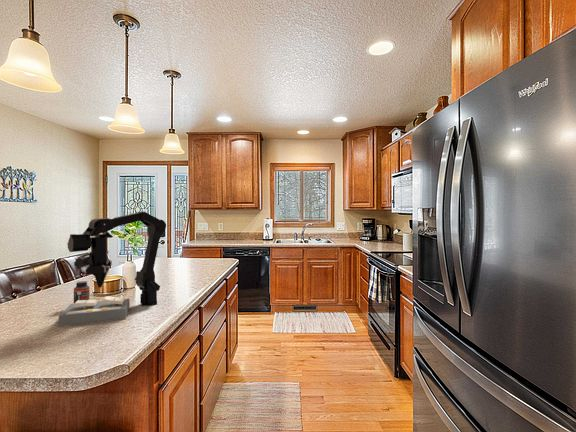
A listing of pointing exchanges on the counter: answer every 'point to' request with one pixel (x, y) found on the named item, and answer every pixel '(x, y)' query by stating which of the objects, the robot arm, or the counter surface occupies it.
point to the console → (94, 313)
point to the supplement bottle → (81, 291)
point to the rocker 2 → (113, 300)
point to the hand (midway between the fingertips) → (100, 287)
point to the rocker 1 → (85, 303)
